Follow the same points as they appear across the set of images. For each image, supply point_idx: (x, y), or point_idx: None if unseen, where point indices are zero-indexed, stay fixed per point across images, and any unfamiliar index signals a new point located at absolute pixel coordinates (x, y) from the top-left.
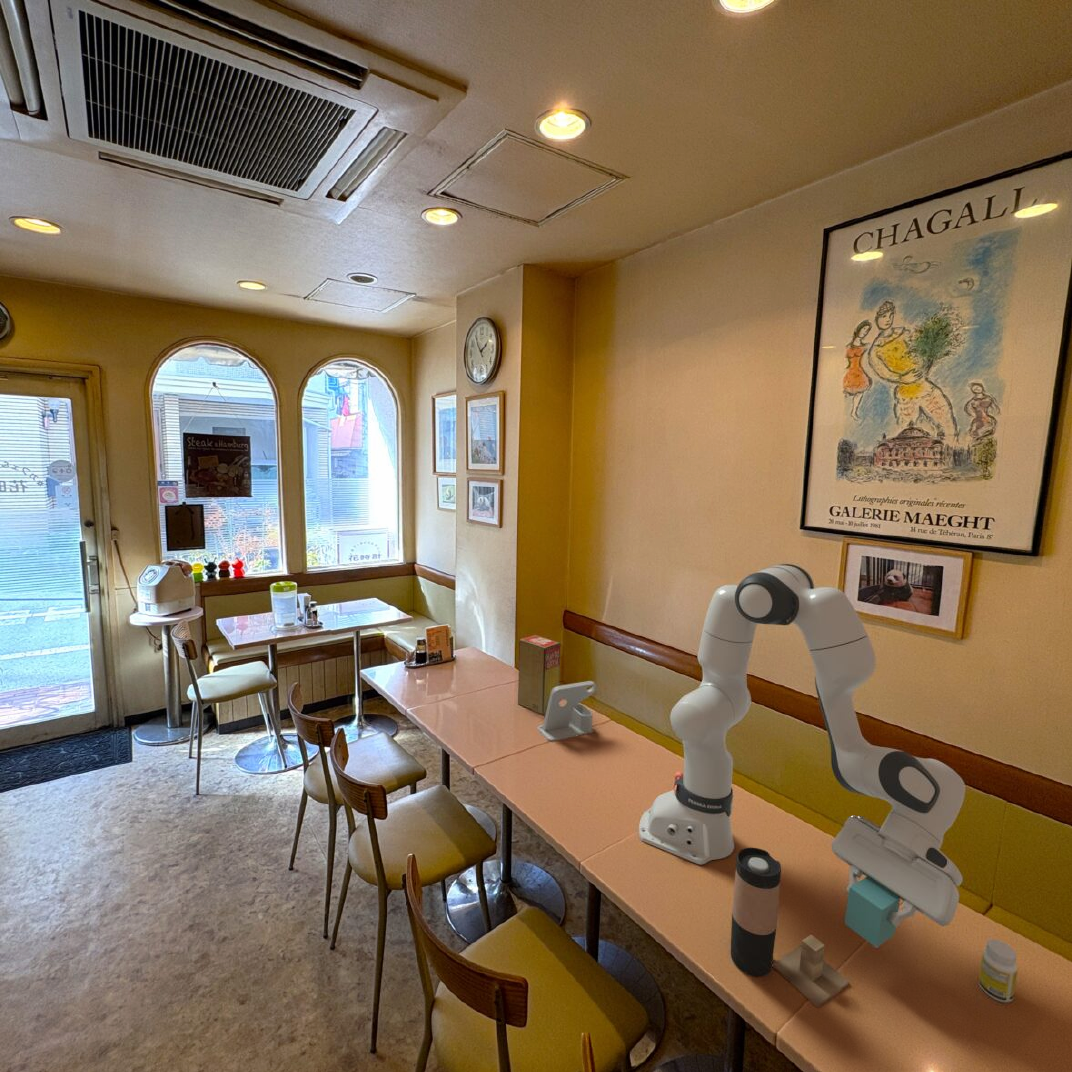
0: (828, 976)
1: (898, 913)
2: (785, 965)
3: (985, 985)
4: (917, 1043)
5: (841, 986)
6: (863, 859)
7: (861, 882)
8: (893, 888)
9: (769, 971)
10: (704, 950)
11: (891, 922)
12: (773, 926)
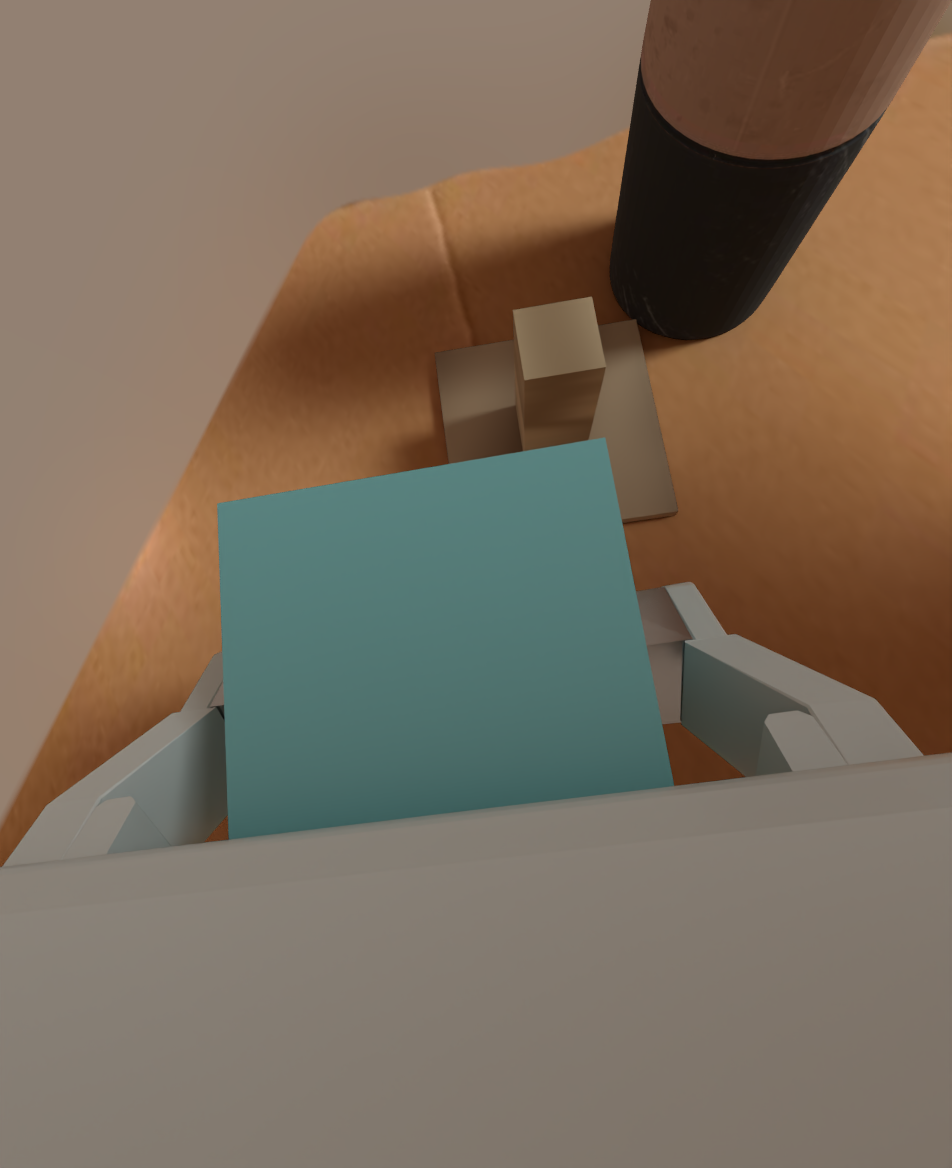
0: None
1: (184, 720)
2: (612, 359)
3: None
4: (199, 574)
5: None
6: (940, 954)
7: (618, 659)
8: (212, 863)
9: (616, 296)
10: None
11: None
12: (653, 45)
